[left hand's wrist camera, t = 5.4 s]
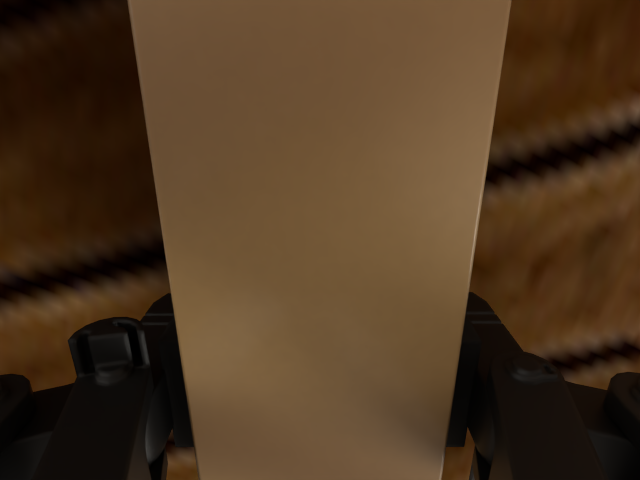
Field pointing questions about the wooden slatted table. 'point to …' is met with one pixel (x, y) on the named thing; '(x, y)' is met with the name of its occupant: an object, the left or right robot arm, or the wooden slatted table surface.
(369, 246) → the bar
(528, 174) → the wooden slatted table surface
